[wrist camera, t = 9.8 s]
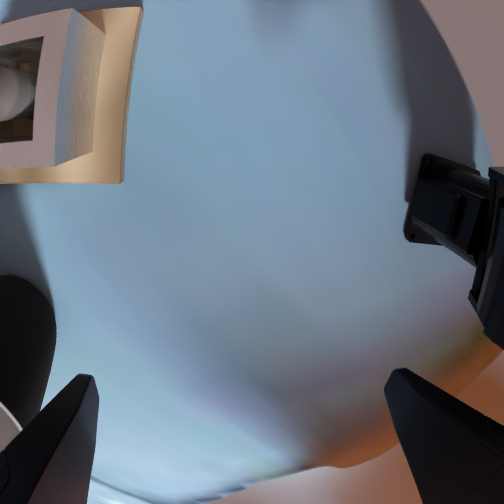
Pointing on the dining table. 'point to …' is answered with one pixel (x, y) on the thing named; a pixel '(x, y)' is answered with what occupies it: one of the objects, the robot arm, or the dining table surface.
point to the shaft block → (106, 114)
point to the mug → (23, 354)
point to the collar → (53, 87)
